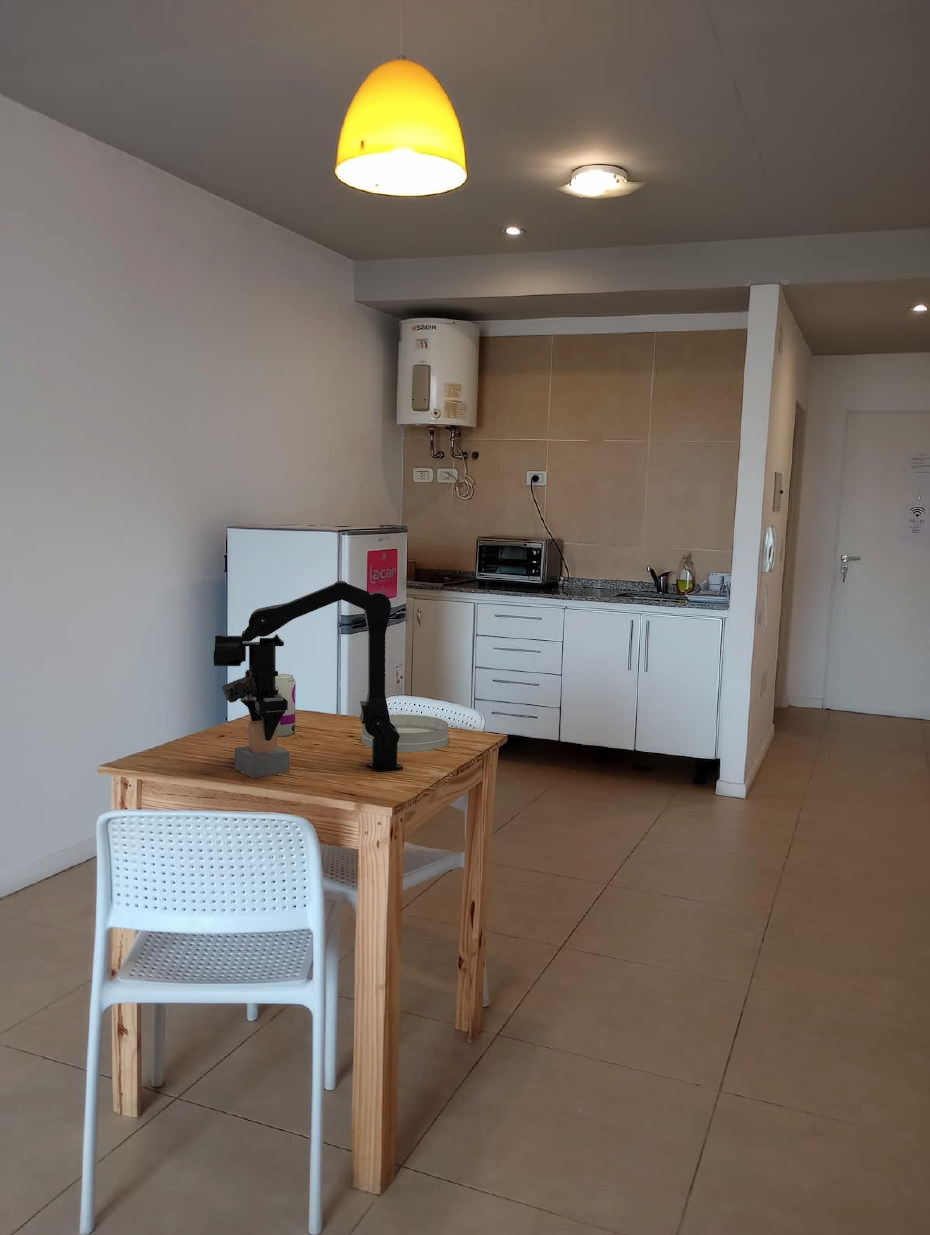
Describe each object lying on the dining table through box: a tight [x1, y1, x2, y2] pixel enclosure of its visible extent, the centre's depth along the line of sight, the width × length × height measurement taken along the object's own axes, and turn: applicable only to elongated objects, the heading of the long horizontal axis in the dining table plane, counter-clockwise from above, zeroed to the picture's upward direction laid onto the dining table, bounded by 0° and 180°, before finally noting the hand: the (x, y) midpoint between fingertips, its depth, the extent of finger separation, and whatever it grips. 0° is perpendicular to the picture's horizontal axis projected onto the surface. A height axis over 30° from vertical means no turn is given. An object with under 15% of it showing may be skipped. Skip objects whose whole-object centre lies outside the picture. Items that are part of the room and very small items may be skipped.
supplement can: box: [275, 673, 297, 737], centre depth 253 cm, size 8×8×15 cm
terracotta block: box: [248, 720, 278, 753], centre depth 216 cm, size 5×5×6 cm
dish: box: [360, 714, 450, 753], centre depth 248 cm, size 22×22×5 cm
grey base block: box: [234, 745, 290, 778], centre depth 217 cm, size 9×9×5 cm
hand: (262, 736), depth 216 cm, fingers open, 9 cm apart
